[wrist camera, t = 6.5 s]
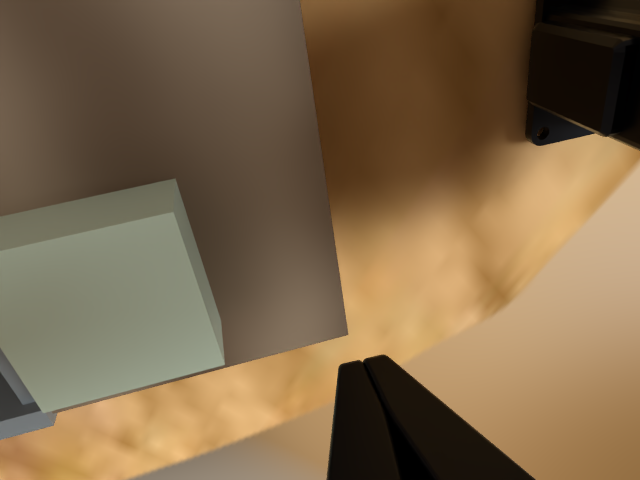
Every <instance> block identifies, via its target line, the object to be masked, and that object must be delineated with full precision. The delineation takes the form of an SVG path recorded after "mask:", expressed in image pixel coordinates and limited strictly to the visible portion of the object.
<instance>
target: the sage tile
mask: <svg viewBox="0 0 640 480" xmlns="http://www.w3.org/2000/svg"><path fill="white" fill-rule="evenodd" d="M0 348H1V350H2V351H3V353H4V354H5V356H6V357H7V359H8V360H9V362H10V363H11V365H12V366H13V368H14V370H15V371H16V373H17V374H18V376H19V377H20V379H21V380H22V382H23V383H24V385H25V386H26V388H27V389H28V391H29V392H30V394H31V395H32V397H33V398H34V400H35V401H36V403H37V405H38V406H39V408H40V409H41V411H42V412H43V413H46V412H50V411H54V410H58V409H61V408H65V407H69V406H73V405H76V404H80V403H84V402H88V401H91V400H95V399H99V398H103V397H106V396H110V395H114V394H118V393H121V392H125V391H129V390H133V389H136V388H140V387H144V386H148V385H151V384H155V383H159V382H163V381H166V380H170V379H174V378H178V377H181V376H185V375H189V374H193V373H196V372H200V371H204V370H208V369H211V368H215V367H219V366H222V365H225V360H224V349H223V337H222V326H221V319H220V316H219V313H218V310H217V307H216V303H215V300H214V297H213V294H212V291H211V288H210V285H209V282H208V279H207V275H206V272H205V269H204V266H203V263H202V260H201V257H200V254H199V251H198V248H197V244H196V241H195V238H194V235H193V232H192V229H191V226H190V223H189V220H188V216H187V213H186V210H185V207H184V204H183V201H182V198H181V195H180V192H179V188H178V185H177V182H176V179H170V180H166V181H161V182H156V183H152V184H147V185H143V186H138V187H134V188H129V189H124V190H120V191H115V192H111V193H106V194H102V195H97V196H92V197H88V198H83V199H79V200H74V201H70V202H65V203H60V204H56V205H51V206H47V207H42V208H37V209H33V210H28V211H24V212H19V213H15V214H10V215H5V216H1V217H0Z"/></svg>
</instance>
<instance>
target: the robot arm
mask: <svg viewBox="0 0 640 480" xmlns="http://www.w3.org/2000/svg"><path fill="white" fill-rule="evenodd" d="M527 100H528V108H527V120H526V132H525V134H526V138H527V140H528V141H530V142H531V143H533V144H535V145H537V146H543V145H547V144H551V143H556V142H560V141H564V140H569V139H573V138H577V137H582V136H586V135H590V134H595V133H596V134H598V135H600V136H603V137H610V138H612V139H614V140H617V141H619V142H621V143H623V144H626V145H628V146H630V147H632V148H635V149H637V150H639V151H640V0H537V2H536V14H535V25H534V29H533V31H532V38H531V50H530V62H529V75H528V87H527ZM541 128H543V131H542V133H541V134H540V135H539V136H537V134H538V131H539V130H540V129H541ZM327 480H535V479H534V478H533V477H532V476H531V475H529V474H528V473H527V472H526V471H525V470H523V469H522V468H521V467H520V466H519V465H517V464H516V463H515V462H514V461H513V460H511V459H510V458H509V457H508V456H507V455H505V454H504V453H503V452H502V451H501V450H499V449H498V448H497V447H496V446H495V445H494V444H492V443H491V442H490V441H489V440H487V439H486V438H485V437H484V436H483V435H482V434H480V433H479V432H478V431H477V430H475V429H474V428H473V427H472V426H471V425H470V424H468V423H467V422H466V421H465V420H463V419H462V418H461V417H460V416H459V415H457V414H456V413H455V412H454V411H453V410H452V409H450V408H449V407H448V406H447V405H446V404H444V403H443V402H442V401H441V400H440V399H438V398H437V397H436V396H435V395H433V394H432V393H431V392H430V391H429V390H427V389H426V388H425V387H424V386H423V385H422V384H420V383H419V382H418V381H417V380H415V379H414V378H413V377H412V376H411V375H410V374H408V373H407V372H406V371H405V370H404V369H402V368H401V367H400V366H399V365H398V364H396V363H395V362H394V361H393V360H392V359H390V358H389V357H388V356H386V355H378V356H374V357H369V358H366V359H364V360H363V362H362V361H360V360H357V361H352V362H348V363H344V364H341V365H340V366H339V369H338V378H337V387H336V396H335V406H334V415H333V424H332V434H331V444H330V453H329V463H328V471H327Z"/></svg>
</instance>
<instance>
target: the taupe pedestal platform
mask: <svg viewBox="0 0 640 480" xmlns="http://www.w3.org/2000/svg"><path fill="white" fill-rule="evenodd" d="M170 179H176V182H177V185H178V188H179V192H180V195H181V198H182V201H183V204H184V207H185V210H186V213H187V216H188V220H189V223H190V226H191V229H192V232H193V235H194V238H195V241H196V244H197V248H198V251H199V254H200V257H201V260H202V263H203V266H204V269H205V272H206V275H207V279H208V282H209V285H210V288H211V291H212V294H213V297H214V300H215V303H216V307H217V310H218V313H219V316H220V319H221V326H222V337H223V349H224V360H225V365H222V366H219V367H215V368H211V369H208V370H204V371H200V372H196V373H193V374H189V375H185V376H181V377H178V378H174V379H170V380H166V381H163V382H159V383H155V384H151V385H148V386H144V387H140V388H136V389H133V390H129V391H125V392H121V393H118V394H114V395H110V396H106V397H103V398H99V399H95V400H91V401H88V402H84V403H80V404H76V405H73V406H69V407H65V408H61V409H58V410H54V411H52V413H53V414H54V413H58V412H62V411H65V410H69V409H73V408H77V407H80V406H84V405H88V404H92V403H95V402H99V401H103V400H107V399H110V398H114V397H118V396H121V395H125V394H129V393H133V392H136V391H140V390H144V389H148V388H151V387H155V386H159V385H163V384H166V383H170V382H174V381H178V380H181V379H185V378H189V377H192V376H196V375H200V374H204V373H207V372H211V371H215V370H219V369H222V368H226V367H230V366H234V365H237V364H241V363H245V362H249V361H252V360H256V359H260V358H263V357H267V356H271V355H275V354H278V353H282V352H286V351H290V350H293V349H297V348H301V347H305V346H308V345H312V344H316V343H320V342H323V341H327V340H331V339H334V338H338V337H342V336H346V335H348V329H347V322H346V315H345V309H344V302H343V295H342V288H341V281H340V274H339V267H338V260H337V254H336V247H335V240H334V233H333V226H332V219H331V212H330V205H329V199H328V192H327V185H326V178H325V171H324V164H323V157H322V150H321V143H320V137H319V130H318V123H317V116H316V109H315V102H314V95H313V88H312V82H311V75H310V68H309V61H308V54H307V47H306V40H305V33H304V27H303V20H302V13H301V6H300V0H0V217H1V216H5V215H10V214H15V213H19V212H24V211H28V210H33V209H37V208H42V207H47V206H51V205H56V204H60V203H65V202H70V201H74V200H79V199H83V198H88V197H92V196H97V195H102V194H106V193H111V192H115V191H120V190H124V189H129V188H134V187H138V186H143V185H147V184H152V183H156V182H161V181H166V180H170Z"/></svg>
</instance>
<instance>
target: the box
mask: <svg viewBox="0 0 640 480" xmlns="http://www.w3.org/2000/svg"><path fill="white" fill-rule="evenodd" d="M56 416H57V413H54V414H53V413H52V411H50V412H46V413H43V412H42V411H41V409H40V408H39V406H38V405H37V403H36V401H35V400H34V398H33V397H32V395H31V394H30V392H29V391H28V389H27V388H26V386H25V385H24V383H23V382H22V380H21V379H20V377H19V376H18V374H17V373H16V371H15V370H14V368H13V366H12V365H11V363H10V362H9V360H8V359H7V357H6V356H5V354H4V353H3V351H2V350H1V348H0V440H2V439H5V438H9V437H13V436H17V435H20V434H24V433H28V432H31V431H35V430H39V429H42V428H46V427H50V426H53V425H54V423H55V419H56Z"/></svg>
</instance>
